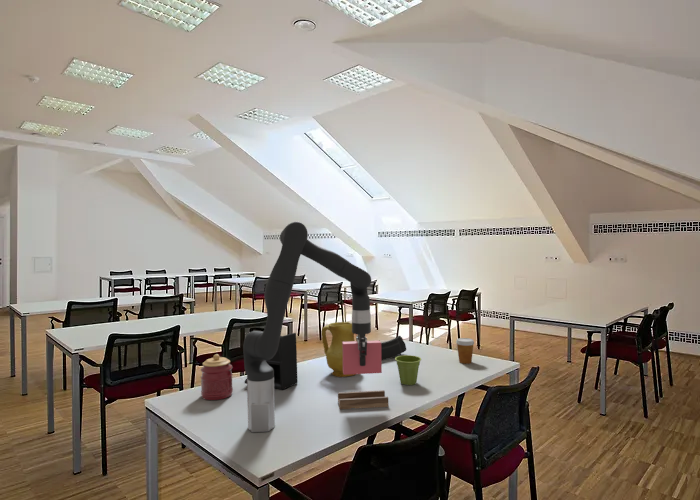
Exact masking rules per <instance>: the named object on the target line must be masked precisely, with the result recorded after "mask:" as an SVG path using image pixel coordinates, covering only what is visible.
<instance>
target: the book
mask: <svg viewBox="0 0 700 500" xmlns="http://www.w3.org/2000/svg"><path fill="white" fill-rule="evenodd" d="M381 343H382V342H381V341H380V340H367V356H365V359H366V365H365V366H360V356H359V350H358V343H357V341H356V340H355V341H350V342H342V351H343V374H344V375H347V374H356V375H364V374H365V375H369V374H381V373H382V367H383V366H382V360H381ZM359 347H360V344H359ZM362 353H364V351H362Z"/></svg>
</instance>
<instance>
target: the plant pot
mask: <svg viewBox="0 0 700 500" xmlns="http://www.w3.org/2000/svg"><path fill="white" fill-rule="evenodd" d="M394 361H396V365H397V369H398V376H399V381H400V382H399V383H400V384H401V385H405V386H414V385H416V384H417V382H418V381H417V380H418V375H419V367H420V364H421V361H422V358H421V357H420V356H416V355H408V354H406V355H404V354H403V355H397V356H395V358H394Z"/></svg>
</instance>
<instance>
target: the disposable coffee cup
mask: <svg viewBox="0 0 700 500" xmlns="http://www.w3.org/2000/svg"><path fill="white" fill-rule="evenodd" d="M455 343H456V347H457V355H458V361H459V363H460V364H463V365H464V364H465V365H467V364H468V365H469V364H472V360H473V354H474V353H473V352H474V345H475V341H474V339H473V338H468V337H460V338H456V341H455Z"/></svg>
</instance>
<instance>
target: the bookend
mask: <svg viewBox="0 0 700 500" xmlns="http://www.w3.org/2000/svg"><path fill="white" fill-rule="evenodd" d="M297 354H298V351H297V332H293V333H289V334H286V335H285V334H284V335H281V336H280V342H279V346H278V350H277V352H276V354H275V356H274V357H273V358H272V359H270V360H266V362H267V364H268V365H269V366H271V367H272V368H273V370H274V389H276V390H285V389H287V388H289V387H292V386H294V385H296V384H298V383H299V381H298V357H297ZM244 383H246V384H247V378H246V379H245V380H244Z"/></svg>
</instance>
